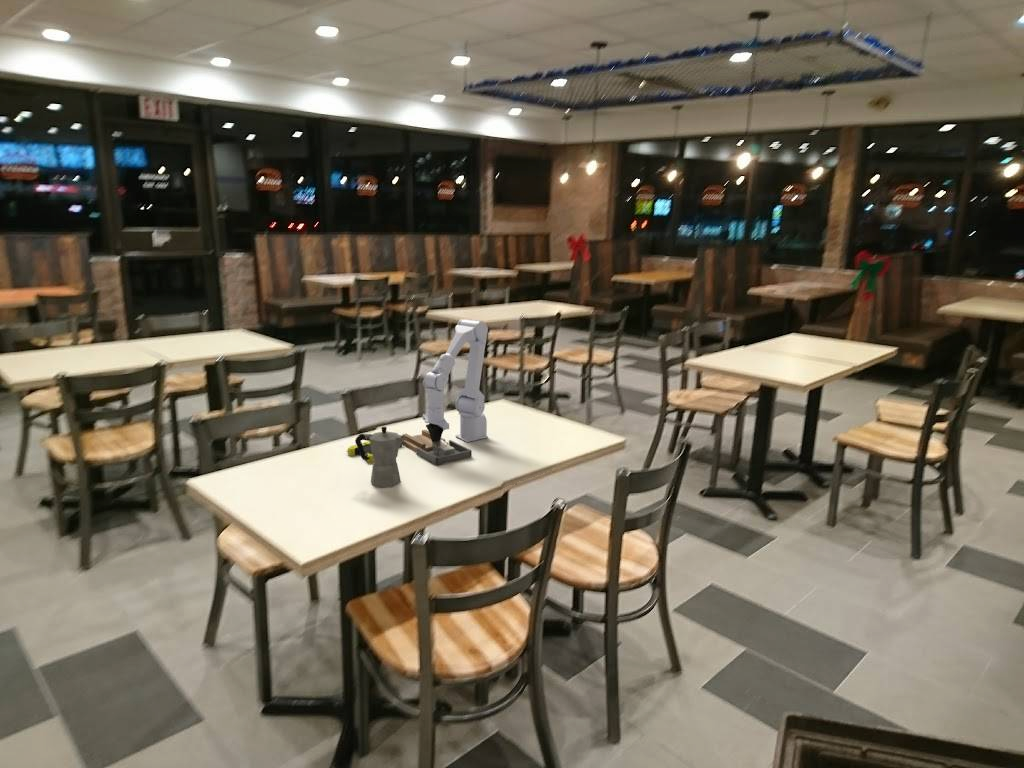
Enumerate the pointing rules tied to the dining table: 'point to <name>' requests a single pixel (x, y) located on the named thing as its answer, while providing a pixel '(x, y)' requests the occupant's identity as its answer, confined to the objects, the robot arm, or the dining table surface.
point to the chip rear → (438, 445)
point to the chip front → (446, 450)
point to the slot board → (419, 441)
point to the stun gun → (367, 448)
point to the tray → (434, 458)
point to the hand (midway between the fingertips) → (435, 444)
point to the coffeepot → (383, 457)
